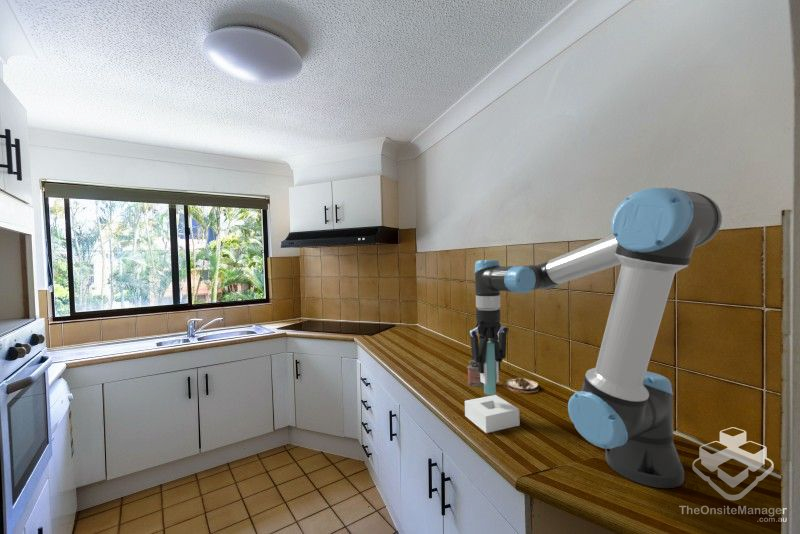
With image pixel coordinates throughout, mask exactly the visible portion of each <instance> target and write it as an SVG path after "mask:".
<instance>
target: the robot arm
mask: <svg viewBox="0 0 800 534" xmlns="http://www.w3.org/2000/svg"><path fill="white" fill-rule="evenodd" d="M722 221H723V216H722V211H721V209H720V207H719V205H718V203H716V201H714V200H713V199H712V198H711V197H709V196H707V195H705V194H702V193H699V192H695V191H694V192H693V191H686V190H682V189H678V188H673V187H666V186H665V187H649V188H644V189H641V190H638V191H636V192H633V193H632V194H630V195H629V196H628V197H626V198H624V199H623V200H622V201H621V202H620V203H619V204H618V205H617V207H616V209H615V210H614V212H613V214H612V217H611V222H610V225H611V226H610V228H611V235H608V236H605V237H603V238H601V239H598V240H596V241H594V242H591V243H588V244H586V245H584V246H581V247H579V248H576V249H574V250H571V251H569V252H566V253H564V254H561V255H559V256H557V257H554V258H551V259H549V260H547V261H545V262H542V263H539V264H534V265H532V264H531V265H530V264H529V265H513V266H509V265H508V266H504V265H503V266H500V261H499V260H498V259H480V260H476V261H475V264H474V285H475V290H474V291H475V307H476V309H475V321H476V325H475V328H473V329H469V330H468V331H467V332H468V334H469V336H470V345H471V346H470V348H471V349H470V350H471V358H472V359H471V361H476V362H478V371H479V373H480V382H482V383H484V384H487V363H485V356H486V348H487V342H488V341H490V342H493V343H495V383H500V380H499V379H500V377H499V373H500V371H501V363H502V362H503V359H506V358H507V334H508V332H509V327H506V326H502V324H501V318H502V317H501V310H500V308H501V292H506V293H514V294H526V293H530V291H536V290H550V289H554V288H556V287H558V286H560V284H563V283H566V282H570V281H573V280H577V279H578V278H582V277H586V276H589V275H591V274H595V273H598V272H601V271H604V270H607V269H610V268H613V267H617V266H619V265H621V266H620V269H619V273H618V278H617V281H616V285H615V290H614V293H613V297H612V301H611V305H610V309H609V313H608V317H607V321H606V325H605V330H604V331H603V332H604V333H603V336H602V340H601V345H600V349H599V352H598V357H597V361H596V364H595V367H593V368H589V369H587V370H586V372H585V374H584V375H585V376H584V379H583V383H582V388H581V390H579V391H576V392H574V393H573V395H571V396H570V398H569V400H568V402H567V412H568V416H569V419H570V421H571V423H573V425H574V429H576V431H577V432H578V433H579V434H580V436H582V437H583V438H584V439H585V440H586V441H587V442H589V443H590V444H592V445H594V446H596V447H599V448H601V449H605V451H604V452H605V461H606V463H607V465H608V466H609V467H610V468H611V469H612V470H613V471H615V472H616V473H617V474H618V475H620V476H622V477H623V478H626V479H628V480H630V481H632V482H635V483H638V484H640V485H643V486H648V487H651V488H652V487H653V488H657V489H658V488H659V489H673V488H674V489H675V488H677V487H680V486H682V485H683V483H684V481H685V470H684V466H683V464H682V461H681V460H680V456H679V454H678V451H677V449H676V447H675V443H674V415H673V409H674V405H673V402H674V401H673V395H674V392H673V388H672V382H671V381H670V379H669V378H668V377H666V376H664V375H662V374H659V373H656V372H651V371H648V366H649V364H650V360H651V357H652V353H653V349H654V346H655V343H656V340H657V339H656V338H657V336H658V333H659V328H660V326H661V323H662V319H663V315H664V312H665V308H666V305H667V302H668V297H669V294H670V291H671V287H672V284H673V281H674V277H675V274H676V273H677V272H679V271H681V270H683V269H685V268H688V267H689V265H690V261H691V258H692V255H693V252H694V249H696V248H699V247H701V246H703V245H705V244H707V243H708V242H709V241H711V240H712V239H713V238H714V237H715V236H716V235H717V233H718V232H719V230H720V228H721V225H722Z"/></svg>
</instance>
